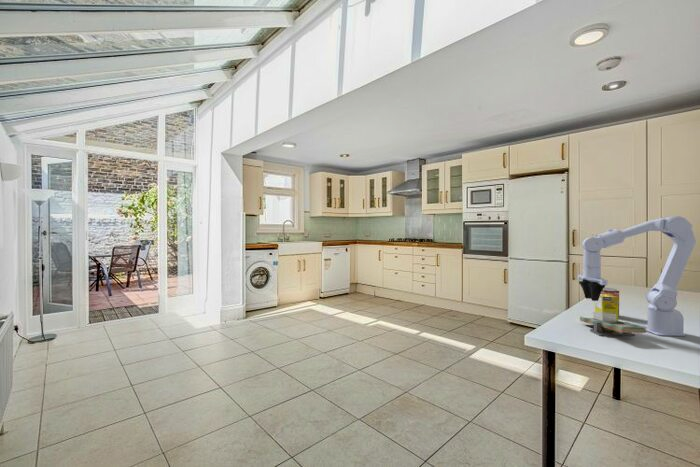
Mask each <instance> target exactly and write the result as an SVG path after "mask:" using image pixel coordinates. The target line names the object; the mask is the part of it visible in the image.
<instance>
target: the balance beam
mask: <svg viewBox="0 0 700 467" xmlns="http://www.w3.org/2000/svg"><path fill="white" fill-rule="evenodd" d="M579 321H580V322H582V323H587V324H590V325H593V326H594V322H600V323H601V328H604V329H611V330H615V331H618V332H623V333H634V334H635V333H636V334H641V333H642V334H645V333H647V331H646V329H645V328H646V327H645V326H641V325H636V324H633V323H630V322H628V323H624V322H625V321H619V320H618V321H617V323H605V322H601V321H597V320H594V317H584V316H582V315H581V316H579ZM629 323H630V324H629Z"/></svg>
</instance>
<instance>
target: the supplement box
mask: <svg viewBox="0 0 700 467" xmlns="http://www.w3.org/2000/svg"><path fill="white" fill-rule="evenodd" d="M594 312H610V313H615V314H616V319H617V321H619V317H618V297H616V296H613V295H610V294H600V297H599V300H598V301H594Z"/></svg>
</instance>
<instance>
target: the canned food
mask: <svg viewBox="0 0 700 467" xmlns="http://www.w3.org/2000/svg"><path fill="white" fill-rule="evenodd" d="M601 294H610V295H613V296H616V297H618V318H619V317H620V289H618V288H614V287H607V286H605V287H604V288H603V290H602V292H601Z"/></svg>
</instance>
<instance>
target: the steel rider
mask: <svg viewBox="0 0 700 467" xmlns="http://www.w3.org/2000/svg"><path fill="white" fill-rule="evenodd" d="M592 314H593V316H592V317H593V318H594V320H597V321H601V322H605V323H617V319H616V314H615V313H610V312H595V311H593V313H592Z"/></svg>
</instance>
